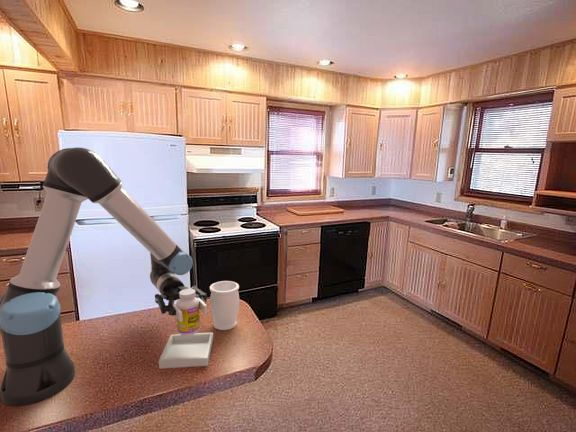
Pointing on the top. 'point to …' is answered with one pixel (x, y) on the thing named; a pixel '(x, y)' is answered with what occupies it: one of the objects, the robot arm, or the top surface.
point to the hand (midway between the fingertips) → (193, 313)
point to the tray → (187, 351)
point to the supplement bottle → (188, 313)
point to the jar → (224, 304)
